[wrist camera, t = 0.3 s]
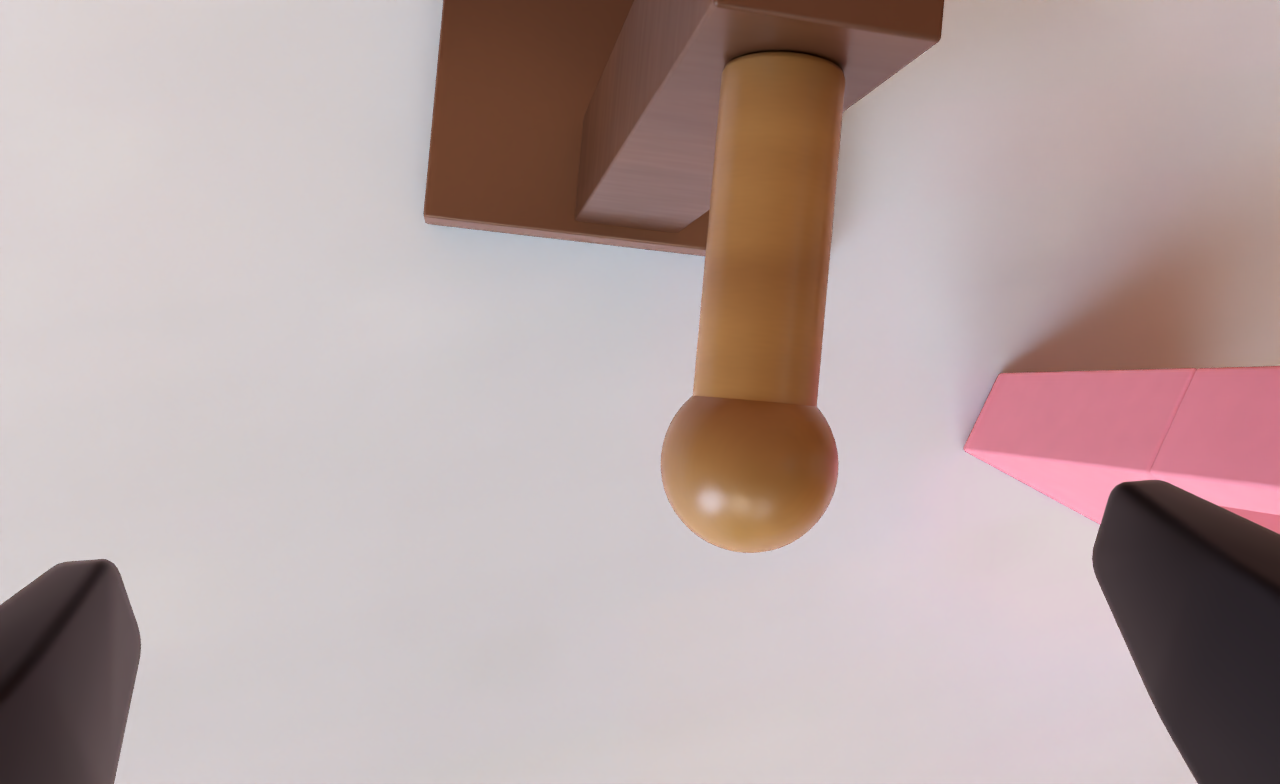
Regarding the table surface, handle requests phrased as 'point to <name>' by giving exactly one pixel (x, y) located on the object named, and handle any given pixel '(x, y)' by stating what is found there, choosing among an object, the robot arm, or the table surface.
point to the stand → (684, 197)
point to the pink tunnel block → (1139, 435)
